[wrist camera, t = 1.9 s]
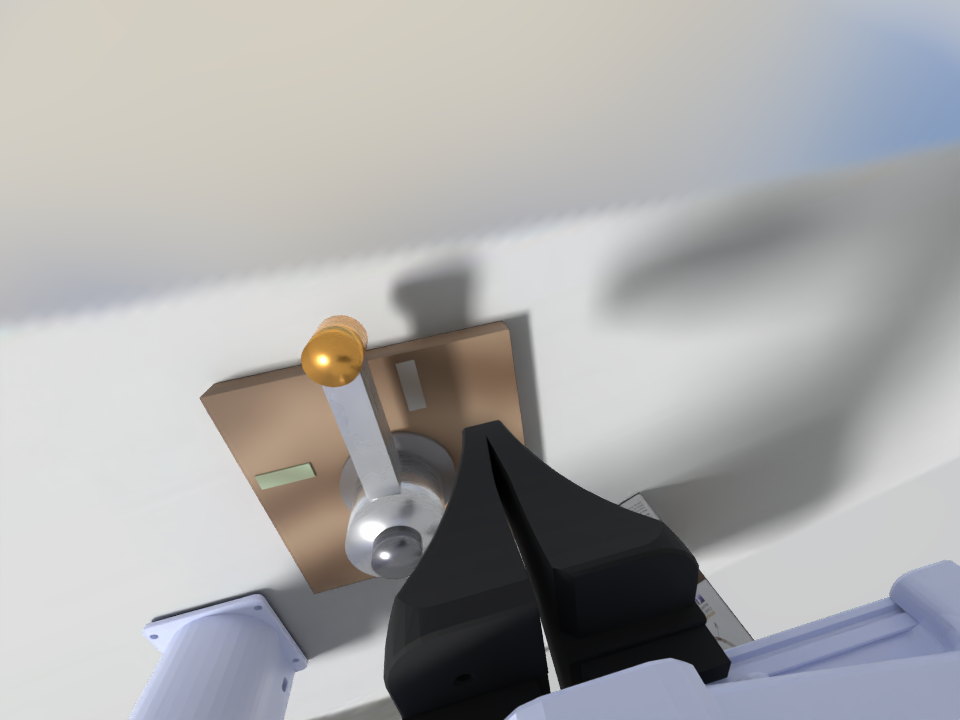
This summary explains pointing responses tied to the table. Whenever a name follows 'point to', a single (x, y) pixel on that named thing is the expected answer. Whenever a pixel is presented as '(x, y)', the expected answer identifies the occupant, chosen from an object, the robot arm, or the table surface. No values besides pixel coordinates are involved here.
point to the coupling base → (321, 448)
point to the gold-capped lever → (374, 458)
